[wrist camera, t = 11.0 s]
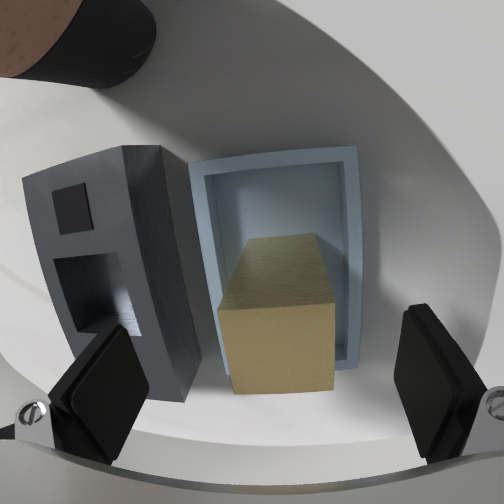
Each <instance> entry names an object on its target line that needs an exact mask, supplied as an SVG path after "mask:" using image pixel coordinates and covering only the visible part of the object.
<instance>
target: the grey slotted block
mask: <svg viewBox="0 0 504 504" xmlns="http://www.w3.org/2000/svg"><path fill="white" fill-rule="evenodd" d="M22 182H23V189H24V195H25V200H26V206H27V211H28V216H29V220H30V225H31V229H32V234H33V238H34V242H35V246H36V250H37V254H38V257H39V261H40V264H41V268H42V271H43V275H44V278H45V281H46V284H47V287H48V290H49V293H50V296H51V299H52V302H53V305H54V308H55V311H56V313H57V316H58V319H59V321H60V324H61V326H62V329H63V331H64V334H65V336H66V339H67V341H68V343H69V346H70V348H71V350H72V353H73V355H74V357H75V359H77V357H78V356H79V355H80V354H81V353H82V351H83V350H84V349H85V348H86V347H87V345H88V344H89V343H90V342H91V341H92V339H93V338H94V337H95V336H96V335H97V333H98V332H99V331H100V330H101V329H102V328H103V326H104V325H106V324H121V325H122V326H123V327H124V328H126V329H127V330H128V332H129V335H130V338H131V341H132V343H133V346H134V348H135V351H136V354H137V356H138V359H139V361H140V364H141V366H142V369H143V371H144V373H145V376H146V378H147V381H148V383H149V393H148V395H147V397H146V399H152V400H161V401H171V402H183V403H184V402H185V400H186V397H187V395H188V392H189V390H190V387H191V385H192V383H193V380H194V378H195V375H196V373H197V370H198V368H199V365H200V363H201V361H202V357H201V353H200V349H199V345H198V341H197V337H196V333H195V329H194V324H193V320H192V316H191V312H190V307H189V303H188V298H187V294H186V289H185V285H184V280H183V275H182V270H181V266H180V261H179V256H178V250H177V245H176V240H175V235H174V229H173V224H172V218H171V212H170V206H169V200H168V194H167V188H166V182H165V175H164V168H163V161H162V154H161V147H160V145H121V146H118V147H114V148H110V149H107V150H103V151H100V152H96V153H93V154H90V155H86V156H83V157H80V158H77V159H74V160H71V161H68V162H65V163H62V164H59V165H56V166H53V167H50V168H47V169H45V170H42V171H39V172H37V173H34V174H31V175H29V176H26V177H24V178H22Z"/></svg>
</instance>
